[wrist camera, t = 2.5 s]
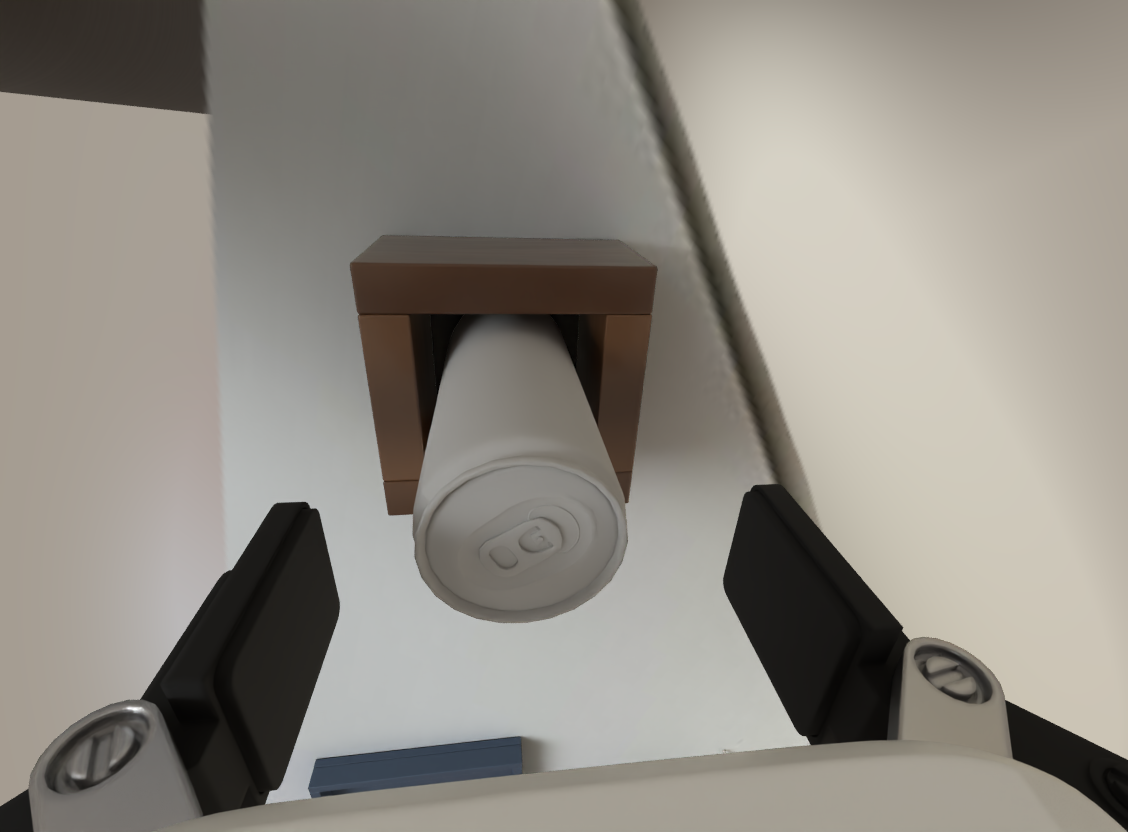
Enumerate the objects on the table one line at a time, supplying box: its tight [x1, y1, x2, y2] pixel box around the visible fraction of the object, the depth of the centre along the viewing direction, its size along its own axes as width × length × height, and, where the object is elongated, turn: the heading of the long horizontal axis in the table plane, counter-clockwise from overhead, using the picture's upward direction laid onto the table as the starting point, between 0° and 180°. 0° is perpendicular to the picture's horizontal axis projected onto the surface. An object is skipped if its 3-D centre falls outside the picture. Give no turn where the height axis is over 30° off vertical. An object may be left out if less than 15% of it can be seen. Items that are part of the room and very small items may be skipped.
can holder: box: [350, 235, 657, 515], centre depth 19 cm, size 9×9×5 cm
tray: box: [308, 737, 522, 798], centre depth 36 cm, size 12×13×2 cm
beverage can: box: [413, 314, 628, 623], centre depth 16 cm, size 5×5×12 cm
